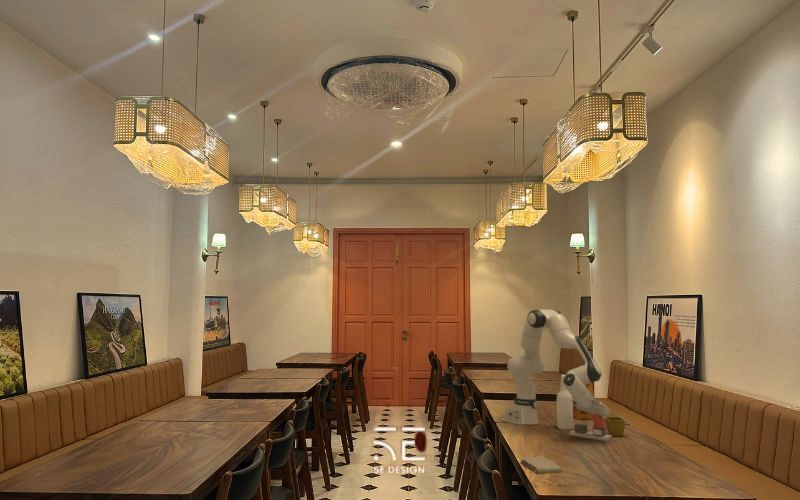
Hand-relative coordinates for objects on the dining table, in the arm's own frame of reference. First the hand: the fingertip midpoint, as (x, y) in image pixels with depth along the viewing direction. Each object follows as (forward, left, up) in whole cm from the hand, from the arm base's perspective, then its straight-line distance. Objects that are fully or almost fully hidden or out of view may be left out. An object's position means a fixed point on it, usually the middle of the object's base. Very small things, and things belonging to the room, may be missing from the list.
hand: (599, 417), depth 296 cm
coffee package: (-26, +44, -11) cm, 52 cm away
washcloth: (-1, -70, -12) cm, 71 cm away
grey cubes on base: (-5, -1, -11) cm, 12 cm away
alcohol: (-23, +9, -11) cm, 27 cm away
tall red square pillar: (0, -1, -5) cm, 5 cm away
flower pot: (+4, +12, -11) cm, 17 cm away
